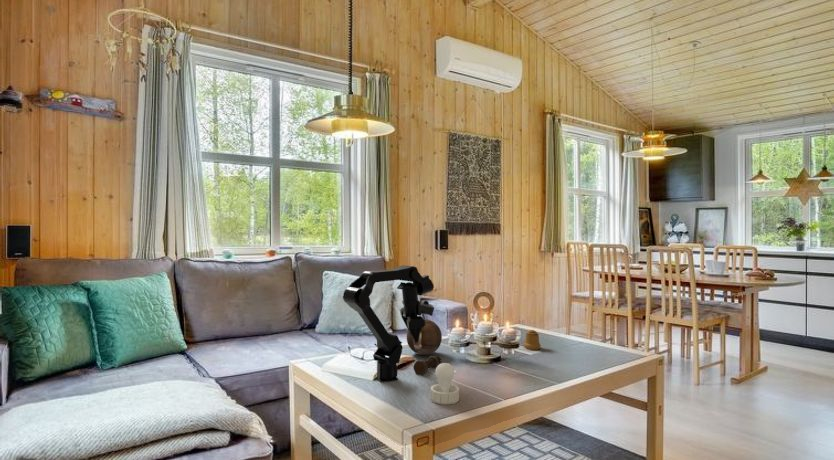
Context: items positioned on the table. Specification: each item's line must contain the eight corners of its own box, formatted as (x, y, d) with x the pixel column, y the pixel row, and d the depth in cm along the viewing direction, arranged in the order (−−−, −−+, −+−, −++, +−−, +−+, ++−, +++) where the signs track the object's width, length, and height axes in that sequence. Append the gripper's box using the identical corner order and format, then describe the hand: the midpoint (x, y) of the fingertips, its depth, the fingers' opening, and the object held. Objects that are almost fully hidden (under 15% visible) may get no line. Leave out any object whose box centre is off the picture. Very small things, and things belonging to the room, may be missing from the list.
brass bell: (528, 345, 223) (543, 348, 218) (520, 348, 217) (535, 351, 213) (528, 328, 223) (543, 330, 218) (520, 330, 217) (535, 333, 212)
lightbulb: (437, 393, 159) (437, 359, 159) (455, 394, 158) (456, 361, 157) (433, 399, 153) (433, 365, 153) (452, 401, 152) (452, 366, 151)
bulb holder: (438, 406, 149) (438, 395, 149) (425, 396, 158) (425, 385, 157) (464, 402, 153) (464, 391, 153) (450, 392, 161) (450, 382, 161)
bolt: (439, 369, 192) (420, 378, 179) (430, 361, 195) (410, 370, 182) (446, 357, 191) (428, 366, 178) (437, 349, 193) (417, 357, 180)
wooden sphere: (423, 347, 217) (423, 314, 217) (448, 354, 207) (449, 319, 206) (399, 354, 206) (399, 319, 206) (424, 361, 196) (425, 324, 196)
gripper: (437, 301, 175) (440, 343, 177) (425, 290, 193) (429, 327, 195) (407, 305, 173) (411, 348, 174) (398, 294, 191) (402, 332, 193)
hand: (414, 338), depth 184 cm, fingers open, 9 cm apart
